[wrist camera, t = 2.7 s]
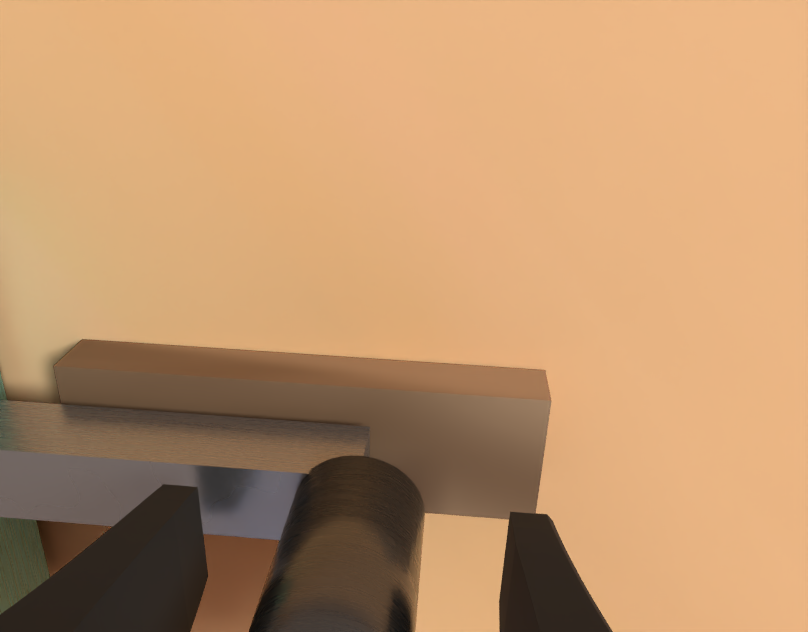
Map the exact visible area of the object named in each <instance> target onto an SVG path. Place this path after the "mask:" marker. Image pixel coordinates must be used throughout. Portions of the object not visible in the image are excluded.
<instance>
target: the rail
mask: <svg viewBox="0 0 808 632" xmlns="http://www.w3.org/2000/svg"><path fill="white" fill-rule="evenodd" d="M53 367H54V371H55V376H56V381H57V386H58V391H59V396H60V401H61V404H65V405H79V406H93V407H106V408H120V409H134V410H148V411H161V412H175V413H189V414H203V415H216V416H230V417H244V418H258V419H272V420H285V421H299V422H313V423H327V424H340V425H354V426H368V427H370V457H371V458H376V459H379V460H382V461H384V462H387V463H389V464H391V465H393V466H395V467H396V468H398V469H399V470H401V471H402V472H403V473H405V474H406V475H407V476H408V477H409V478H410V479H411V480H412V481H413V483H414V484H415V485H416V487H417V488H418V490H419V492H420V494H421V496H422V499H423V503H424V509H425V513H435V514H448V515H460V516H473V517H486V518H498V519H509V517H510V512H522V513H536V506H537V499H538V492H539V485H540V478H541V471H542V464H543V456H544V449H545V442H546V435H547V428H548V421H549V414H550V407H551V397H550V392H549V387H548V382H547V377H546V372H545V370H532V369H517V368H503V367H488V366H473V365H458V364H443V363H428V362H413V361H398V360H383V359H368V358H353V357H338V356H323V355H308V354H293V353H278V352H263V351H248V350H233V349H218V348H203V347H188V346H173V345H159V344H144V343H129V342H114V341H99V340H84V339H82V340H81V341H80V342H79V343H78V344H77V345H76V346H75V347H74V348H73V349H72V350H70V351H69V352H68V353H67V354H66V355H65V356H64V357H63V358H62V359H61V360H60V361H59V362H57V363H56V364H55V365H54V366H53Z"/></svg>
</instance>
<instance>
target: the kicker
mask: <svg viewBox="0 0 808 632" xmlns="http://www.w3.org/2000/svg"><path fill="white" fill-rule="evenodd" d="M163 484H167V485H180V486H192V487H198V494H199V502H200V511H201V520H202V528H203V534H211V535H223V536H235V537H247V538H259V539H271V540H279V543H278V546H277V549H276V552H275V555H274V558H273V561H272V564H271V567H270V570H269V573H268V576H267V579H266V582H265V585H264V588H263V591H262V594H261V597H260V600H259V602H258V605H257V608H256V611H255V614H254V617H253V620H252V623H251V626H250V629H249V632H415V628H416V616H417V603H418V591H419V578H420V566H421V554H422V541H423V529H424V516H425V509H424V503H423V499H422V496H421V494H420V492H419V490H418V488H417V487H416V485H415V484H414V483H413V481H412V480H411V479H410V478H409V477H408V476H407V475H406V474H405V473H403V472H402V471H401V470H399V469H398V468H396V467H395V466H393V465H391V464H389V463H387V462H384V461H382V460H379V459H376V458H371V457H370V427H368V426H354V425H340V424H327V423H313V422H299V421H285V420H272V419H258V418H244V417H230V416H216V415H203V414H189V413H175V412H161V411H148V410H134V409H120V408H106V407H93V406H79V405H65V404H51V403H38V402H24V401H10V400H7V398H6V394H5V390H4V386H3V381H2V377H1V373H0V614H1V613H3V612H4V611H6V610H7V609H8V608H10V607H11V606H13V605H14V604H15V603H17V602H18V601H19V600H21V599H22V598H23V597H25V596H26V595H27V594H29V593H30V592H31V591H33V590H34V589H35V588H37V587H38V586H39V585H41V584H42V583H43V582H45V581H46V580H47V579H49V578H50V575H49V571H48V567H47V562H46V558H45V554H44V550H43V546H42V542H41V538H40V534H39V530H38V525H37V521H36V520H42V521H54V522H66V523H78V524H90V525H102V526H114V525H115V524H116V523H118V522H119V521H120V520H121V519H122V518H124V517H125V516H126V515H127V514H128V513H129V512H131V511H132V510H133V509H134V508H135V507H137V506H138V505H139V504H140V503H141V502H142V501H144V500H145V499H146V498H147V497H148V496H150V495H151V494H152V493H153V492H155V491H156V490H157V489H158V488H159V487H161V486H162V485H163Z"/></svg>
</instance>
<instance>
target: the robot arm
mask: <svg viewBox="0 0 808 632" xmlns="http://www.w3.org/2000/svg"><path fill="white" fill-rule="evenodd" d="M207 578H208V572H207V563H206V554H205V546H204V537H203V528H202V520H201V511H200V502H199V494H198V487H192V486H180V485H167V484H163V485H162V486H161V487H159V488H158V489H157V490H156V491H155V492H153V493H152V494H151V495H150V496H148V497H147V498H146V499H145V500H144V501H142V502H141V503H140V504H139V505H138V506H137V507H135V508H134V509H133V510H132V511H131V512H129V513H128V514H127V515H126V516H125V517H124V518H122V519H121V520H120V521H119V522H118V523H116V524H115V525H114V526H113V527H112V528H111V529H109V530H108V531H107V532H106V533H105V534H103V535H102V536H101V537H100V538H99V539H97V540H96V541H95V542H94V543H93V544H91V545H90V546H89V547H88V548H86V549H85V550H84V551H83V552H81V553H80V554H79V555H78V556H77V557H75V558H74V559H73V560H72V561H70V562H69V563H68V564H67V565H66V566H64V567H63V568H62V569H60V570H59V571H58V572H57V573H55V574H54V575H53V576H51V577H50V578H49V579H47V580H46V581H45V582H43V583H42V584H41V585H39V586H38V587H37V588H35V589H34V590H33V591H31V592H30V593H29V594H27V595H26V596H25V597H23V598H22V599H21V600H19V601H18V602H17V603H15V604H14V605H13V606H11V607H10V608H8V609H7V610H6V611H4V612H3V613H1V614H0V632H190V631H191V628H192V625H193V622H194V619H195V616H196V613H197V610H198V607H199V604H200V601H201V597H202V594H203V591H204V588H205V584H206V581H207ZM499 616H500V632H613V631H612V630H611V628H610V627H609V625H608V624H607V622H606V620H605V619H604V617H603V615H602V614H601V612H600V610H599V609H598V607H597V605H596V604H595V602H594V600H593V599H592V597H591V595H590V594H589V592H588V590H587V588H586V587H585V585H584V583H583V581H582V580H581V578H580V576H579V574H578V572H577V570H576V568H575V567H574V565H573V563H572V561H571V559H570V557H569V555H568V553H567V551H566V549H565V547H564V545H563V543H562V541H561V539H560V537H559V534H558V532H557V530H556V528H555V525H554V523H553V521H552V520H551V518H550V517H549V516H548V515H547V514H535V513H522V512H510V517H509V525H508V534H507V542H506V550H505V558H504V567H503V575H502V583H501V592H500V600H499Z"/></svg>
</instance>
